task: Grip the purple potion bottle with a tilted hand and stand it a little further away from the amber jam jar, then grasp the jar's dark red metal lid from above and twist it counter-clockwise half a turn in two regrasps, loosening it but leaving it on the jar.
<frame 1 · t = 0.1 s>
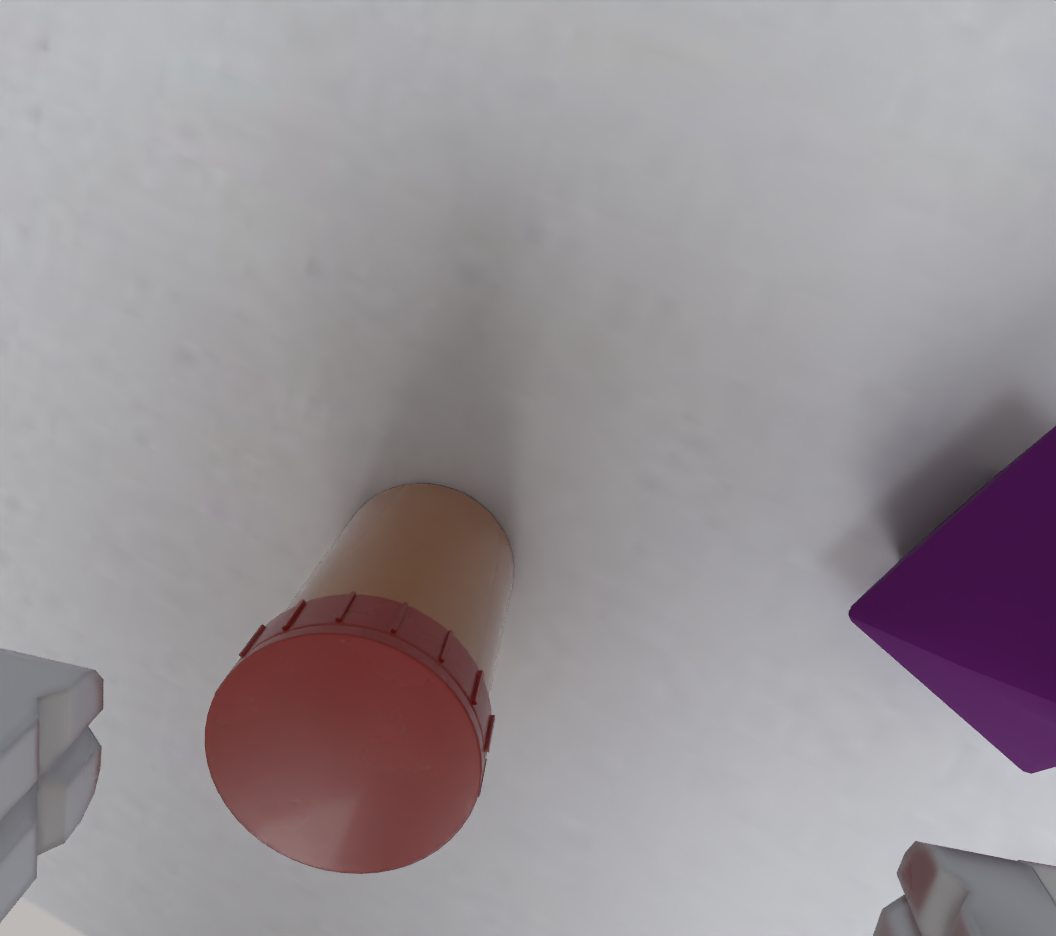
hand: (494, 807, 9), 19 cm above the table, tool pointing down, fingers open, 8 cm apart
jar lid: (346, 748, 20), point 10 cm above the table, screwed on, not yet turned
jam jar: (426, 565, 29), on the table
purple potion bottle: (993, 557, 28), on the table
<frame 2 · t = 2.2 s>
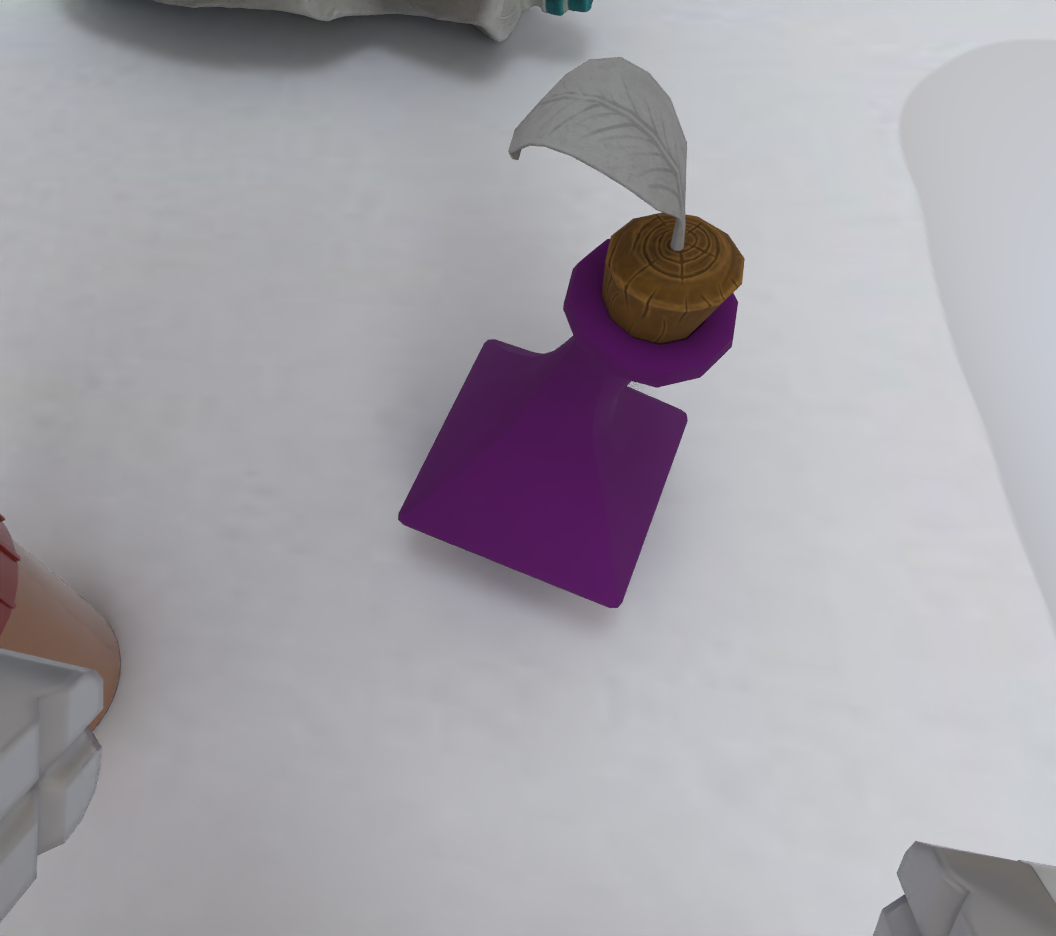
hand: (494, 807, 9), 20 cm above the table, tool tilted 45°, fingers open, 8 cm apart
jam jar: (27, 678, 29), on the table
purple potion bottle: (539, 506, 33), on the table
crushed plastic bottle: (327, 1, 43), on the table
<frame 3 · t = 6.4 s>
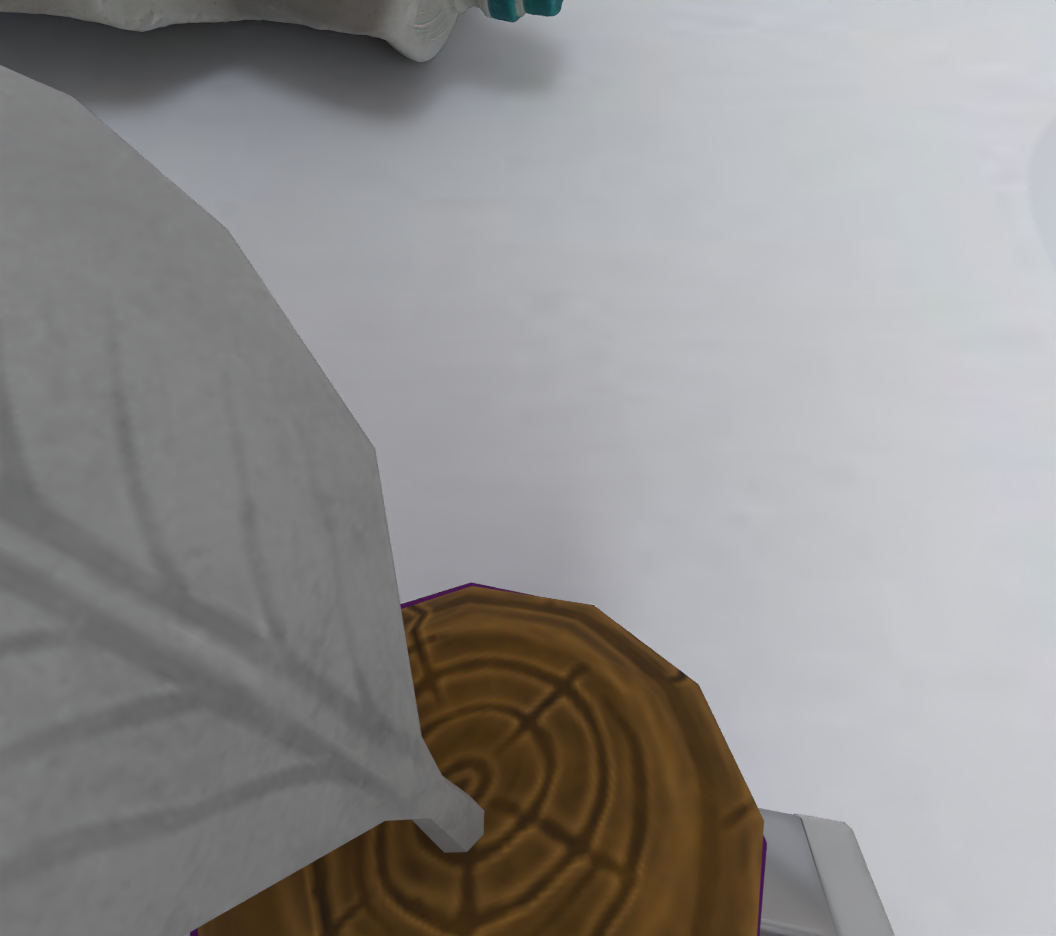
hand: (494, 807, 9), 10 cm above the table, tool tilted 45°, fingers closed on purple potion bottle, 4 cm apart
purple potion bottle: (460, 898, 18), on the table, touching gripper
crushed plastic bottle: (168, 2, 29), on the table
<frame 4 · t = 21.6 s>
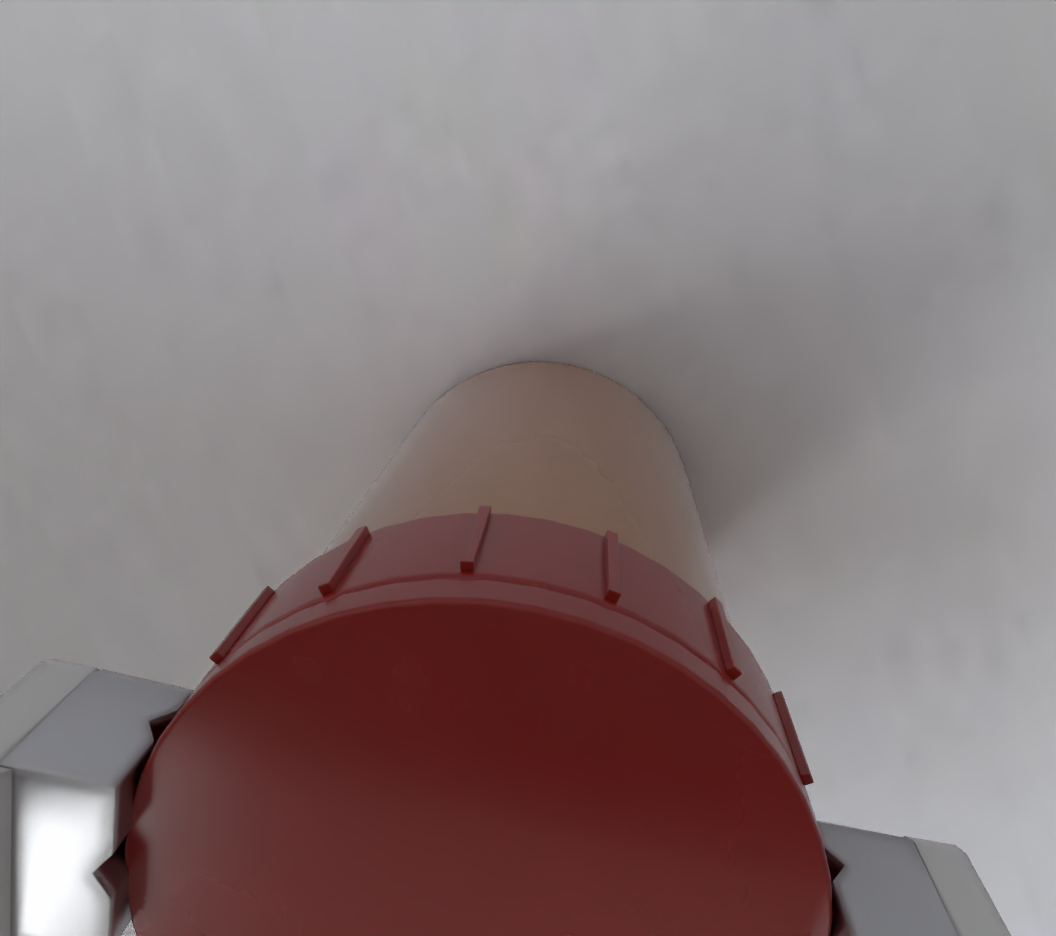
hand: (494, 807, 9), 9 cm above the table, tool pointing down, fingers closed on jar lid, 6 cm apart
jar lid: (475, 886, 8), point 10 cm above the table, screwed on, not yet turned, touching gripper
jam jar: (539, 506, 17), on the table
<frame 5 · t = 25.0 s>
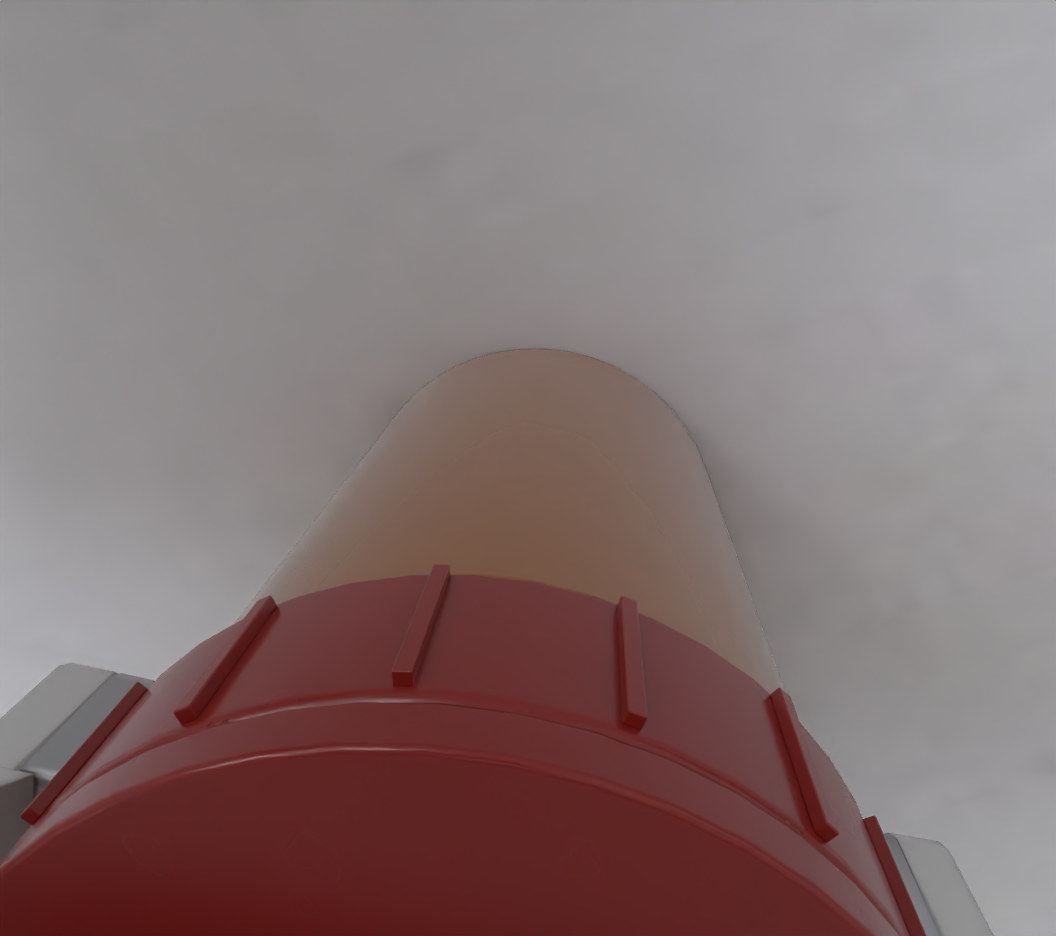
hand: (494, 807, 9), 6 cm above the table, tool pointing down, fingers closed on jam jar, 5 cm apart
jam jar: (536, 518, 15), on the table, touching gripper
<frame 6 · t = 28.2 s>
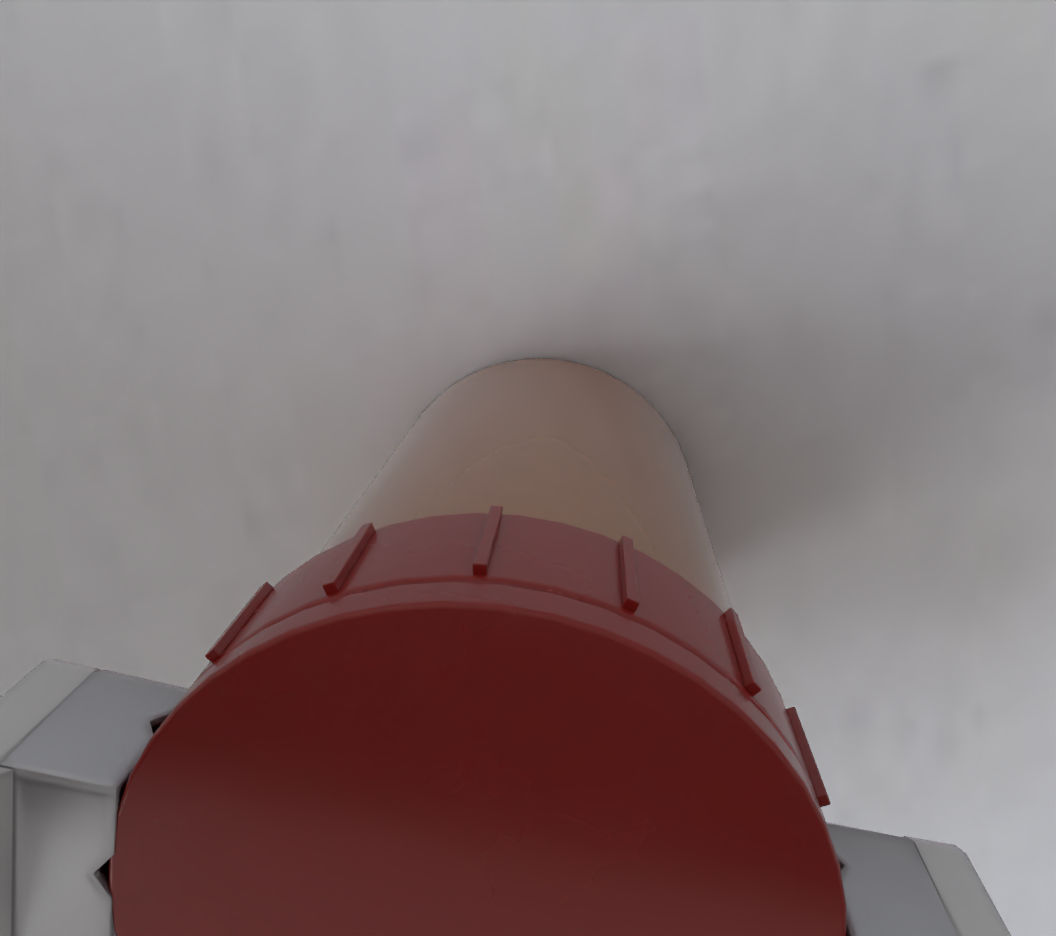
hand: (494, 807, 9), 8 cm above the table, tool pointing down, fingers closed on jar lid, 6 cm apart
jar lid: (474, 901, 8), point 10 cm above the table, turned 102° so far, risen 0.1 cm, still on its thread, touching gripper
jam jar: (540, 505, 17), on the table
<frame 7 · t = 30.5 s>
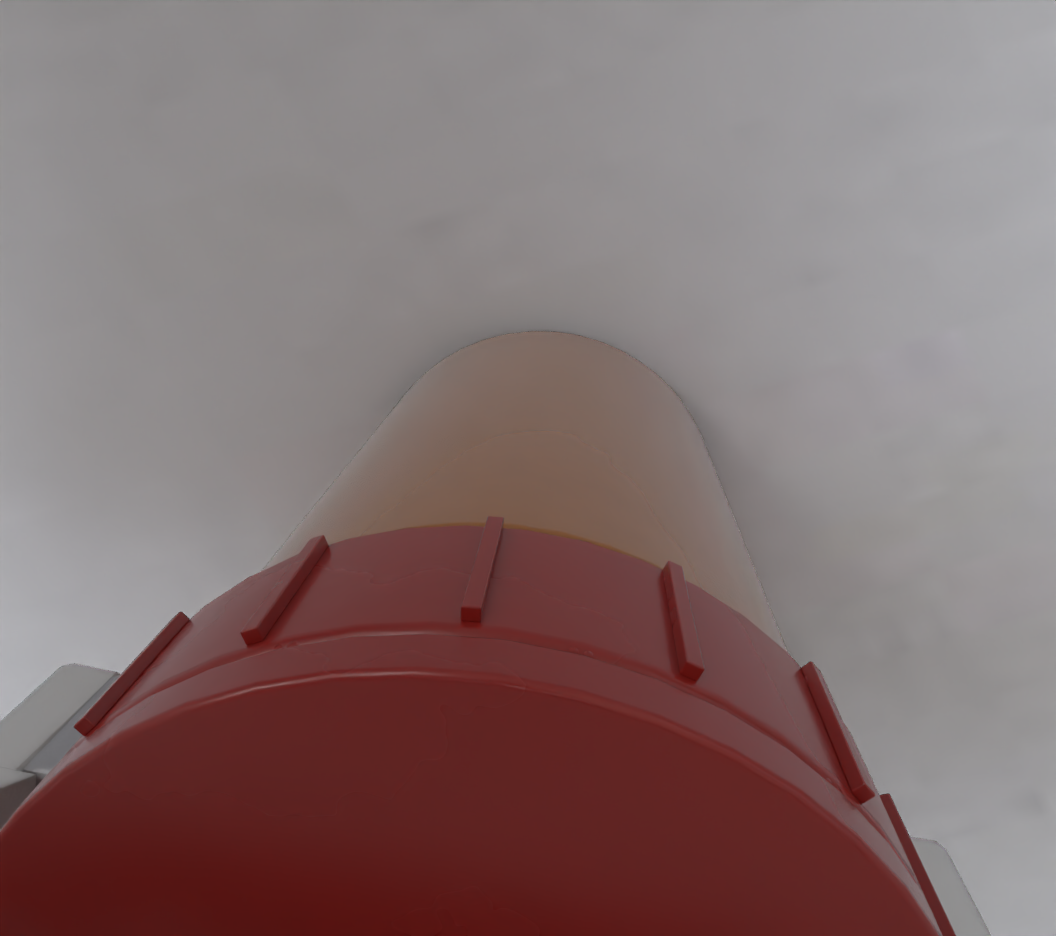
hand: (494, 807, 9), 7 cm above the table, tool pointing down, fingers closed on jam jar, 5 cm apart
jam jar: (540, 499, 15), on the table, touching gripper
when the fingers open (6 cm above the table, at t = 32.2 s): jam jar stays where it is, on the table.
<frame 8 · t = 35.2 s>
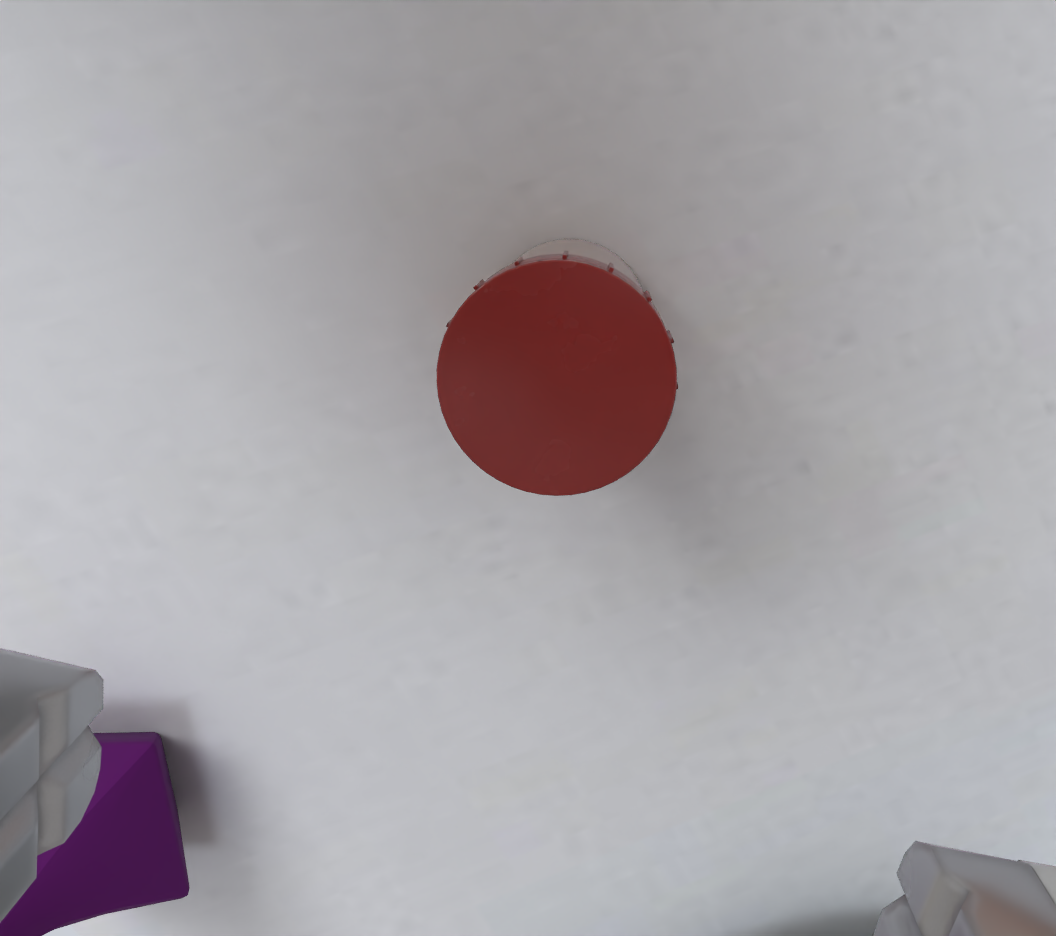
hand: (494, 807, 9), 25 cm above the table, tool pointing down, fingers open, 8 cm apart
jar lid: (556, 379, 23), point 10 cm above the table, turned 177° so far, risen 0.2 cm, still on its thread
jam jar: (568, 319, 33), on the table
purple potion bottle: (126, 770, 40), on the table
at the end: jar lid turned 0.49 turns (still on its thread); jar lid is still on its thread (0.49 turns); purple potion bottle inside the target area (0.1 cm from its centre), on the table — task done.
